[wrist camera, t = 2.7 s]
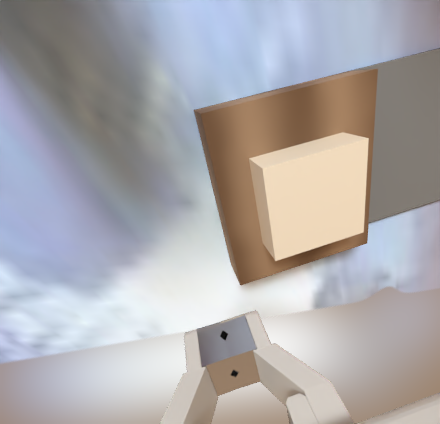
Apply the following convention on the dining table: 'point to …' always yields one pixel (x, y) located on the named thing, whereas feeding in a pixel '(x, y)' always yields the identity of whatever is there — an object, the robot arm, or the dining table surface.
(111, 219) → the dining table surface
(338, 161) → the tile
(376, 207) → the mat
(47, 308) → the dining table surface
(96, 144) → the dining table surface
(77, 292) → the dining table surface
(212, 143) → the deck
